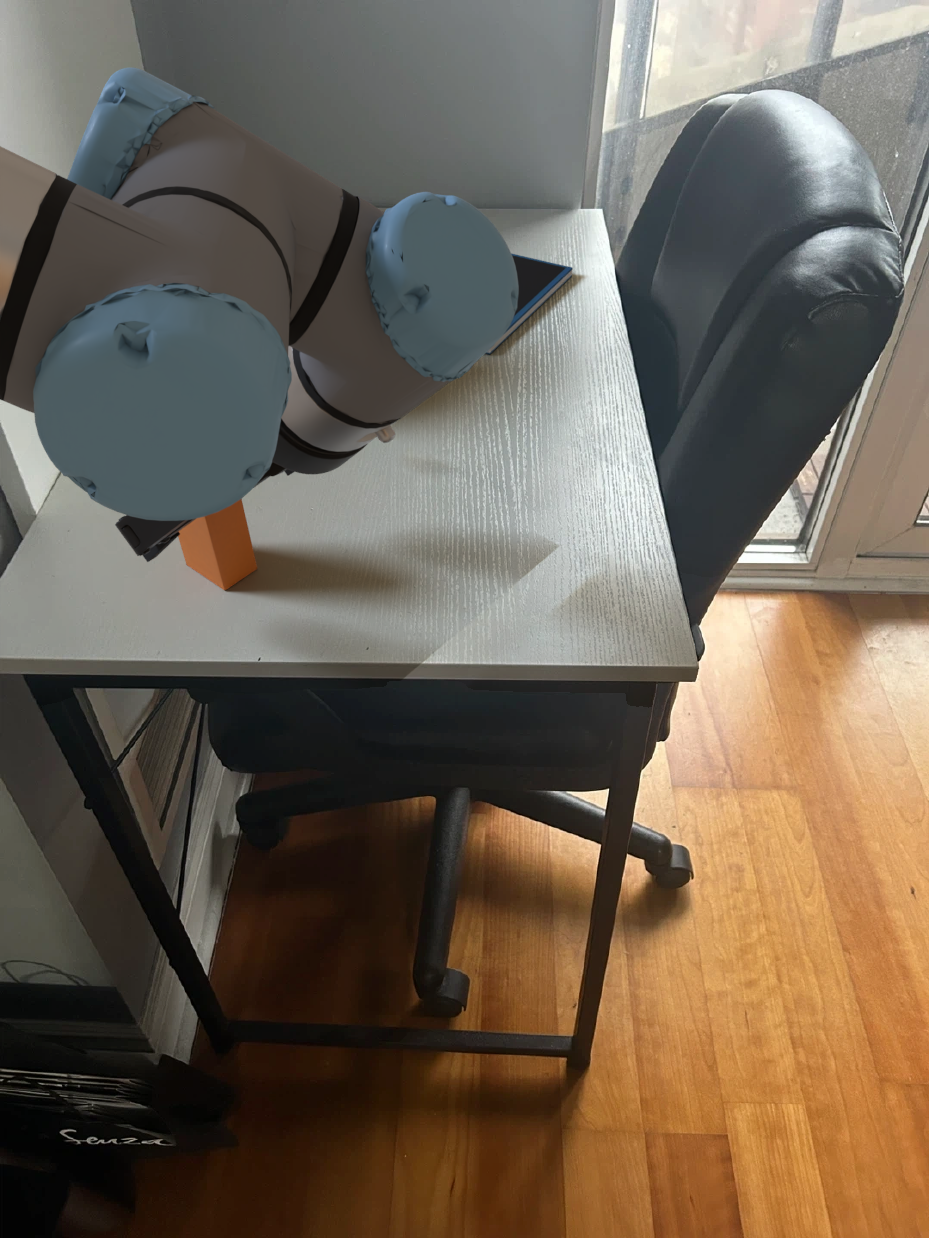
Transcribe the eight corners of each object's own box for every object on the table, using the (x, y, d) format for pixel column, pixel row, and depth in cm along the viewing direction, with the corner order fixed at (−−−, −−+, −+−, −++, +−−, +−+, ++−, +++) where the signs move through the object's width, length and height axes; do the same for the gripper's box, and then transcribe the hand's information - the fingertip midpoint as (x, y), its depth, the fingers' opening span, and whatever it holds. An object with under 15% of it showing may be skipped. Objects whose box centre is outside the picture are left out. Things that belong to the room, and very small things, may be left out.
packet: (224, 591, 76) (192, 469, 68) (186, 565, 78) (150, 444, 70) (257, 568, 78) (230, 447, 69) (219, 544, 80) (187, 423, 72)
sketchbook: (490, 357, 102) (490, 339, 101) (268, 298, 113) (265, 282, 111) (572, 277, 115) (573, 260, 114) (366, 231, 126) (365, 215, 124)
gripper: (190, 557, 48) (105, 629, 66) (497, 364, 62) (358, 467, 79) (101, 433, 47) (39, 540, 65) (433, 263, 60) (306, 390, 78)
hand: (214, 500), depth 72 cm, fingers open, 13 cm apart
